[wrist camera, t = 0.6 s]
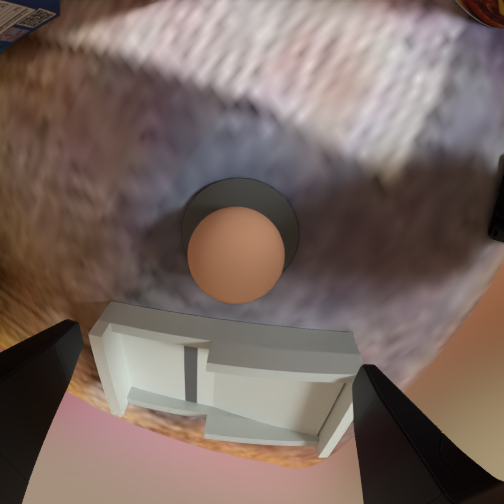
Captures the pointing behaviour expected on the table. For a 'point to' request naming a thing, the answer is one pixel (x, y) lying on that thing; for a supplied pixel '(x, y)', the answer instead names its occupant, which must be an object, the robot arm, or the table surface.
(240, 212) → the ball
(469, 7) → the canned food
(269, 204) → the dark grey disc
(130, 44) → the table surface
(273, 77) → the table surface
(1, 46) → the juice carton
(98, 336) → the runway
